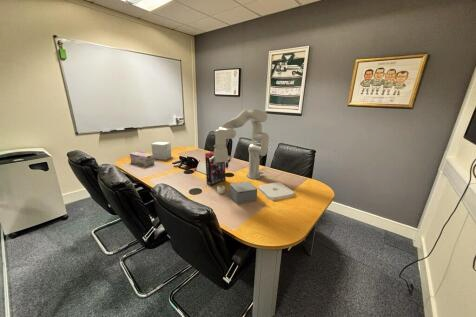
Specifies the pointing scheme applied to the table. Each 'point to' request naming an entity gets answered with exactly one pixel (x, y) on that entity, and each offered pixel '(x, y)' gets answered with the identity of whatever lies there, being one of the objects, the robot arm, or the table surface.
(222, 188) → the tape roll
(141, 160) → the surgical sutures box
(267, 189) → the computer
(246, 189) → the lid
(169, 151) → the supplement box
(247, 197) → the carton
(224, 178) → the graphics card box
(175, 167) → the table surface
